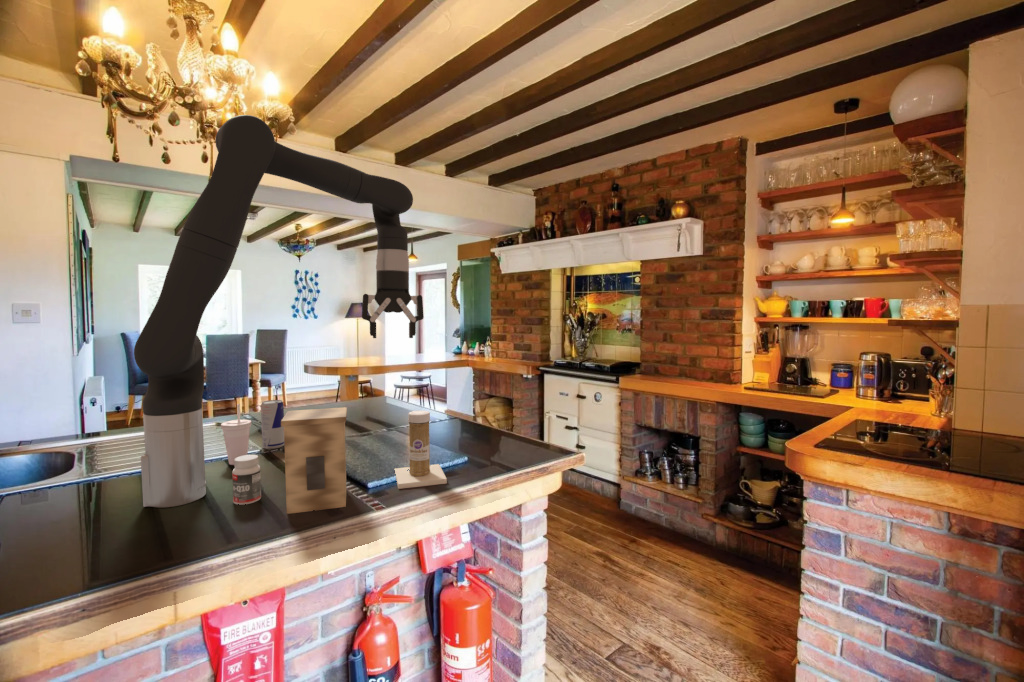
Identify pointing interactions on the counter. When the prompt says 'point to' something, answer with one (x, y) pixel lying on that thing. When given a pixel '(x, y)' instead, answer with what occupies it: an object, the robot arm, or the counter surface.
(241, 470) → the pill bottle
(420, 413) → the sprinkles bottle
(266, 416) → the energy drink
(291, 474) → the box
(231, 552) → the counter surface
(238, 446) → the smoothie
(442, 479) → the tile
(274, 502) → the counter surface
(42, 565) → the counter surface
